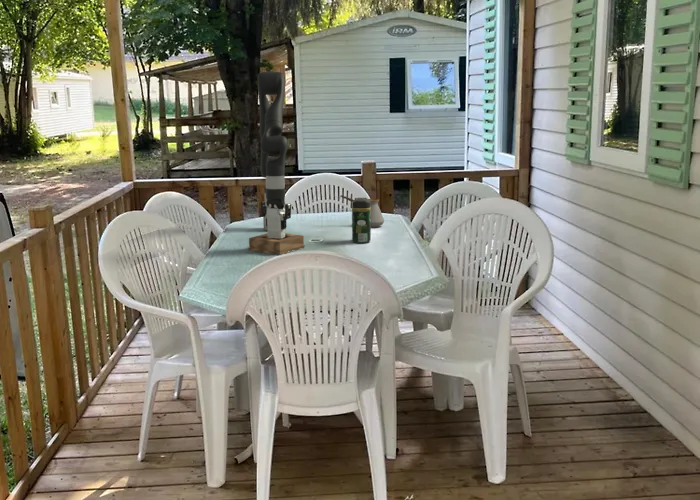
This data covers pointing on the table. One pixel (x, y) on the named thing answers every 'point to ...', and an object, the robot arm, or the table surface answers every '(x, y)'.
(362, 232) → the coffee jar
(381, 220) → the coffee pot
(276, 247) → the holder
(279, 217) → the skincare box
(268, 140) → the robot arm
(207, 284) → the table surface
